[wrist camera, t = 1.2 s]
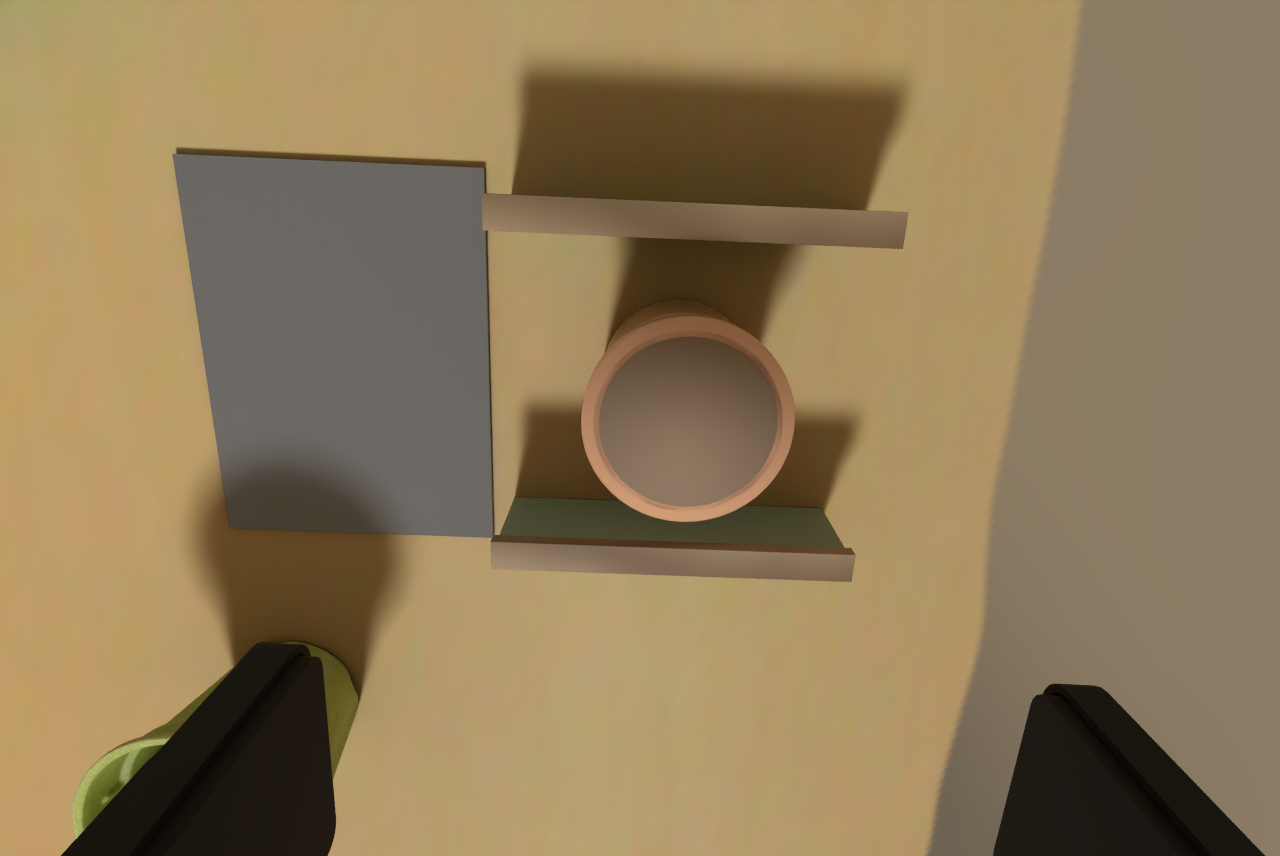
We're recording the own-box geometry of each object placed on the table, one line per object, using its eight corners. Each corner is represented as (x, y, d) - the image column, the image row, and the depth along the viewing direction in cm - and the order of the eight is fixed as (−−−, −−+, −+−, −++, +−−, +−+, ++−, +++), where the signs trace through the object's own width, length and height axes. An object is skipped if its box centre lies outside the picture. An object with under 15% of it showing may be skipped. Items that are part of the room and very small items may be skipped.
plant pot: (176, 718, 36) (40, 874, 28) (240, 576, 34) (112, 701, 25) (348, 791, 38) (267, 959, 29) (422, 660, 35) (356, 803, 27)
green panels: (505, 193, 28) (481, 193, 24) (866, 209, 28) (908, 212, 24) (510, 518, 33) (491, 569, 28) (822, 530, 33) (851, 581, 29)
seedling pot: (594, 286, 29) (582, 313, 23) (768, 293, 30) (806, 323, 23) (590, 449, 32) (579, 518, 25) (752, 455, 32) (783, 526, 25)
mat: (175, 154, 28) (172, 153, 28) (484, 168, 28) (483, 167, 28) (231, 526, 33) (229, 528, 33) (493, 535, 33) (493, 537, 33)
